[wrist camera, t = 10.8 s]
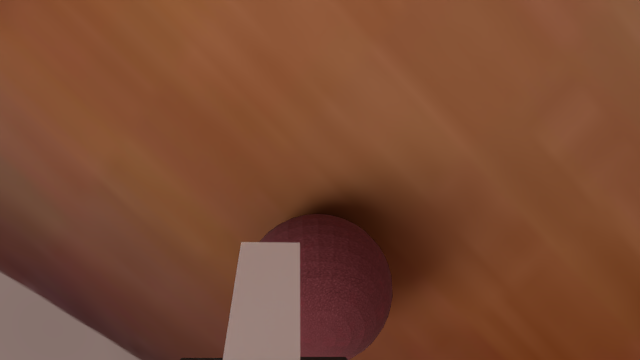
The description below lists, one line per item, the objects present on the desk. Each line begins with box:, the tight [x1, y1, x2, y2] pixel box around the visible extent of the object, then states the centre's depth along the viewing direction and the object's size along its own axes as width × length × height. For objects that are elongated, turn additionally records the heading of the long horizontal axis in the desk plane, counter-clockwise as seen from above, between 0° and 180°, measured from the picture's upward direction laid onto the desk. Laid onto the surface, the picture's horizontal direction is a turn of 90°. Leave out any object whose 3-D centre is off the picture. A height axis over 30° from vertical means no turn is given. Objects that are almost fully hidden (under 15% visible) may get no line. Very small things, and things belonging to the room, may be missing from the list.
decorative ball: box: [260, 214, 392, 360], centre depth 40 cm, size 10×10×10 cm
